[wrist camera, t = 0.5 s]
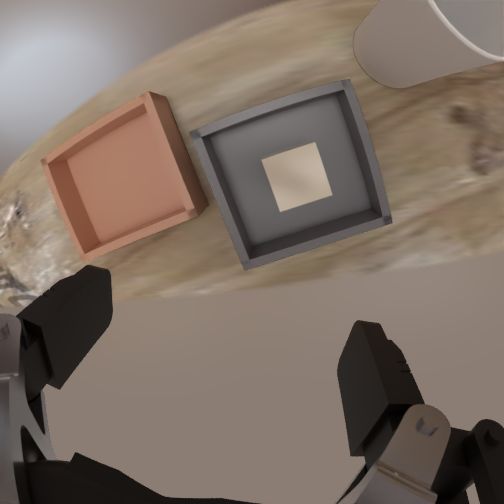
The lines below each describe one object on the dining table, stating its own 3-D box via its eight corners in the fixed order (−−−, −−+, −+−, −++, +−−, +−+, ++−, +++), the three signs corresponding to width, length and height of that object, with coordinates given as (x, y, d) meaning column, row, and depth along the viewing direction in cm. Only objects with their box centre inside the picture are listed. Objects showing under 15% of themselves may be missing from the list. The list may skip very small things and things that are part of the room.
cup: (345, 70, 25) (411, 12, 10) (360, 6, 22) (419, -75, 7) (418, 101, 25) (523, 85, 10) (430, 37, 22) (522, -8, 7)
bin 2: (338, 86, 25) (349, 78, 21) (377, 211, 29) (392, 222, 25) (201, 132, 28) (189, 132, 24) (248, 252, 32) (244, 270, 28)
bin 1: (166, 96, 27) (148, 91, 23) (208, 205, 31) (198, 216, 26) (64, 156, 29) (40, 160, 25) (102, 248, 33) (82, 263, 29)
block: (308, 141, 27) (315, 142, 22) (323, 186, 28) (332, 195, 24) (263, 156, 28) (261, 159, 23) (279, 200, 29) (280, 212, 24)
